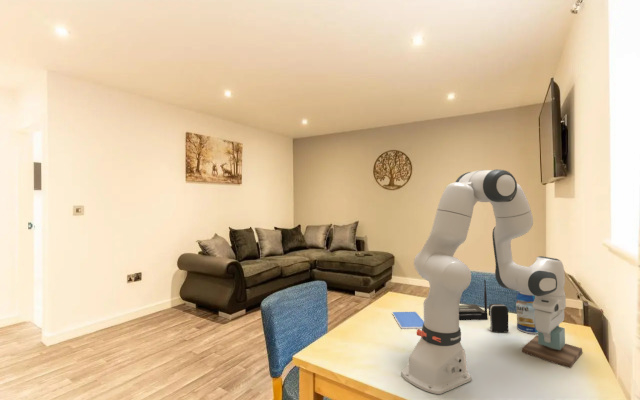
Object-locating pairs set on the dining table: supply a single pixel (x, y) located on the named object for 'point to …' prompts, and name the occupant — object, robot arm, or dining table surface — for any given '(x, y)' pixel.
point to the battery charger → (498, 317)
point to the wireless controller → (474, 310)
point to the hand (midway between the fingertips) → (551, 338)
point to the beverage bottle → (525, 313)
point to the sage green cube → (554, 338)
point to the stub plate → (553, 353)
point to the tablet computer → (408, 320)
